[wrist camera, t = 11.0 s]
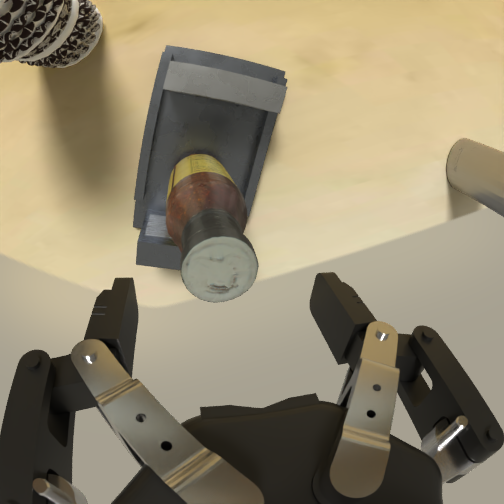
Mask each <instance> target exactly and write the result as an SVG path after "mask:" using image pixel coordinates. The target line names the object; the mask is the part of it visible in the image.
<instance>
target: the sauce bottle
mask: <svg viewBox="0 0 504 504" xmlns="http://www.w3.org/2000/svg"><path fill="white" fill-rule="evenodd" d="M246 223H247V207H246V203H245V200H244V198H243V195H242V194H241V192H240V190H239V189H238V187H237V186H236V184H235V183H234V182H233V180H232V178H231V177H230V175H229V174H228V172H227V171H226V170H225V168H224V167H223V165H222V164H221V163H220V162H219V161H218V160H217V159H215V158H213V157H211V156H209V155H205V154H191V155H190V156H187V157H185V158H184V159H182V160H181V161H180V162H179V163H178V164H177V165H175V167H174V169H173V171H172V173H171V176H170V180H169V186H168V194H167V201H166V227H167V231H168V234H169V236H170V237H171V238H172V239H173V241H174V243H175V244H176V245H177V246H178V247H179V249H180V251H181V253H182V254H181V260H180V269H181V276H182V280H183V283H184V284H185V286H186V288H187V289H188V290H189V291H190V292H191V293H192V294H193V295H194V296H196V297H198V298H199V299H201V300H204V301H208V302H224V301H228V300H231V299H234V298H236V297H238V296H241V295H242V294H243V293H245V292H246V291H248V289H249V288H250V287H251V286H252V284H253V283H254V281H255V279H256V275H257V270H258V261H257V257H256V254H255V252H254V249H253V246H252V244H251V243H250V241H249V240H248V239H247V238H246V236H245V235H243V233H244V230H245V227H246Z"/></svg>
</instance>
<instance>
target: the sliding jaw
mask: <svg viewBox="0 0 504 504" xmlns="http://www.w3.org/2000/svg"><path fill="white" fill-rule="evenodd" d="M163 89H164V90H167V91H172V92H177V93H183V94H189V95H195V96H201V97H206V98H211V99H216V100H221V101H226V102H230V103H235V104H239V105H243V106H248V107H252V108H256V109H260V110H265V111H269V112H275V113H280V111H281V107H282V104H283V100H284V97H285V94H286V90H287V87H286V86H282V85H279V84H276V83H272V82H269V81H265V80H261V79H258V78H254V77H250V76H246V75H242V74H238V73H234V72H229V71H225V70H220V69H215V68H210V67H205V66H200V65H194V64H188V63H182V62H176V61H170V63H169V67H168V71H167V74H166V78H165V82H164V86H163Z"/></svg>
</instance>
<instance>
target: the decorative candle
mask: <svg viewBox="0 0 504 504" xmlns="http://www.w3.org/2000/svg"><path fill="white" fill-rule="evenodd" d="M102 31H103V18H102V16H101V14H100V12H99V10H98V8H96V6H95V5H92V2H91V1H88V0H0V63H1V62H12V61H14V60H18V61H19V62H20V63H26V62H27V63H28V65H31V66H32V65H36V66H41V65H42V66H43V67H50V68H55V67H57V68H65V67H68V66H72V65H75V64H77V63H78V62H80V61H81V60H82V59H84V58H85V57H87V56H88V55H89V54H90V52H91V51H92V50H93V49H94V47H95V46H96V45H97V43H98V41H99V38H100V36H101V33H102Z"/></svg>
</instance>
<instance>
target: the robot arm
mask: <svg viewBox="0 0 504 504" xmlns="http://www.w3.org/2000/svg"><path fill="white" fill-rule="evenodd" d="M447 176H448V180H449V182H450V184H451V186H452V187H453V188H455V189H457V190H459V191H461V192H462V193H464V194H466V195H468V196H469V197H471V198H473V199H475V200H476V201H478V202H480V203H481V204H483V205H485V206H486V207H488V208H490V209H492V210H493V211H495V212H496V213H498V214H500V215H501V216H503V217H504V152H502V151H499V150H497V149H494V148H492V147H489V146H486V145H484V144H481V143H478V142H476V141H473V140H470V139H467V138H463V139H461V140H459V141H458V142H456V144H455V145H454V146H453V148H452V149H451V152H450V154H449V157H448V162H447ZM310 310H311V313H312V316H313V317H314V319H315V321H316V323H317V325H318V327H319V329H320V331H321V332H322V334H323V336H324V338H325V340H326V342H327V344H328V346H329V348H330V350H331V352H332V354H333V355H334V357H335V359H336V361H337V363H338V365H339V364H345V363H348V364H349V366H350V367H349V369H348V371H347V374H346V377H345V381H344V383H343V386H342V389H341V393H340V395H339V398H338V401H337V404H334V403H331V402H325V401H319V400H318V397H317V395H316V393H314V394H309V395H303V396H297V397H291V398H288V399H285V400H283V401H280V402H278V403H275V404H273V405H270V406H267V407H265V408H251V407H242V406H233V405H225V406H213V407H200V410H201V415H200V416H196V417H194V418H191V419H188V420H187V421H185V422H183V423H181V424H180V423H179V422H178V421H177V420H176V419H175V418H174V417H173V416H172V415H171V414H170V413H169V412H168V411H167V410H166V409H165V408H164V407H163V406H162V405H161V404H160V403H159V402H158V400H156V399H155V397H154V396H153V395H152V394H151V393H150V392H149V391H148V390H147V388H146V387H145V386H144V385H143V384H142V383H141V382H140V381H139V380H138V379H135V380H133V379H132V369H133V359H134V350H135V342H136V333H137V325H138V305H137V299H136V293H135V286H134V280H133V278H115V280H114V283H113V287H112V290H103V291H102V292H101V294H100V295H99V296H98V297H97V299H96V302H95V305H94V308H93V311H92V315H91V317H90V321H89V324H88V327H87V330H86V334H85V337H84V340H83V341H81V342H79V343H78V344H77V345H75V347H74V348H73V349H72V352H71V354H69V355H66V356H61V357H57V358H52V359H50V357H49V355H48V354H47V353H46V352H44V351H42V350H32V351H29V352H27V353H26V354H25V355H23V356H22V358H21V359H20V361H19V363H18V366H17V369H16V373H15V376H14V379H13V383H12V386H11V390H10V394H9V398H8V402H7V406H6V410H5V414H4V419H3V424H2V429H1V434H0V504H88V503H87V500H86V498H85V496H84V494H83V493H82V492H81V491H80V490H79V489H77V488H76V487H74V486H73V485H72V453H73V452H72V451H73V435H74V422H75V412H76V411H78V410H83V409H88V408H92V407H96V408H97V409H98V411H99V412H100V413H101V415H102V417H103V418H104V419H105V421H106V422H107V424H108V425H109V426H110V428H111V429H112V431H113V432H114V433H115V435H116V436H117V437H118V438H119V440H120V441H121V442H122V444H123V445H124V447H125V448H126V449H127V451H128V452H129V453H130V455H131V456H132V457H133V458H134V459H135V461H136V462H137V463H138V464H139V465H140V467H141V470H139V472H138V473H137V474H136V475H135V477H134V478H133V479H132V480H131V481H130V482H129V483H128V485H127V486H126V487H125V488H124V489H123V491H122V492H121V493H120V494H119V495H118V496H117V497H116V499H115V500H114V501H113V502H112V503H111V504H443V500H442V484H444V483H445V482H446V483H453V482H455V481H457V480H458V479H460V478H461V477H463V476H464V475H466V474H467V473H469V472H470V471H472V470H473V469H474V468H476V467H477V466H478V465H480V464H481V463H483V462H484V461H485V460H486V459H487V458H489V457H490V456H492V455H493V454H494V453H495V452H497V451H498V450H499V449H500V448H501V447H502V445H503V443H504V433H503V431H502V429H501V427H500V425H499V423H498V422H497V420H496V418H495V417H494V415H493V413H492V412H491V410H490V409H489V407H488V406H487V404H486V402H485V401H484V399H483V398H482V396H481V395H480V393H479V391H478V390H477V388H476V387H475V385H474V384H473V382H472V381H471V379H470V378H469V376H468V375H467V374H466V372H465V371H464V369H463V368H462V366H461V365H460V363H459V362H458V361H457V359H456V358H455V357H454V355H453V354H452V352H451V351H450V349H449V348H448V347H447V345H446V344H445V343H444V341H443V340H442V339H441V337H440V336H439V335H438V333H437V332H436V331H435V330H433V329H432V328H430V327H427V326H417V327H416V328H415V329H414V331H413V333H412V334H411V335H409V334H398V333H397V331H396V330H395V329H394V328H393V327H392V326H391V325H389V324H387V323H385V322H380V321H377V320H376V319H375V317H374V316H373V315H372V313H371V312H370V311H369V309H368V308H367V307H366V305H365V304H364V303H363V301H362V300H361V298H360V297H358V294H357V293H356V292H355V290H354V289H353V288H352V287H350V286H349V285H347V284H346V283H344V282H341V281H340V279H339V278H338V276H337V275H336V274H335V273H333V272H330V273H318V274H317V275H316V278H315V282H314V286H313V290H312V294H311V299H310ZM424 368H425V370H426V371H427V373H428V374H429V376H430V378H431V380H432V384H433V386H432V390H430V388H429V387H428V385H427V383H426V382H425V380H424V378H423V377H422V375H421V372H422V371H423V370H424ZM397 393H398V395H399V396H400V398H401V400H402V402H403V404H404V406H405V408H406V410H407V412H408V414H409V416H410V418H411V420H412V422H413V424H414V426H415V428H416V430H417V432H418V434H419V436H420V438H421V440H422V443H421V450H422V451H421V450H419V449H417V448H415V447H413V446H411V445H409V444H407V443H406V442H404V441H402V440H400V439H398V438H397V437H395V436H393V435H391V434H390V430H391V425H392V420H393V414H394V408H395V402H396V395H397Z"/></svg>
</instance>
